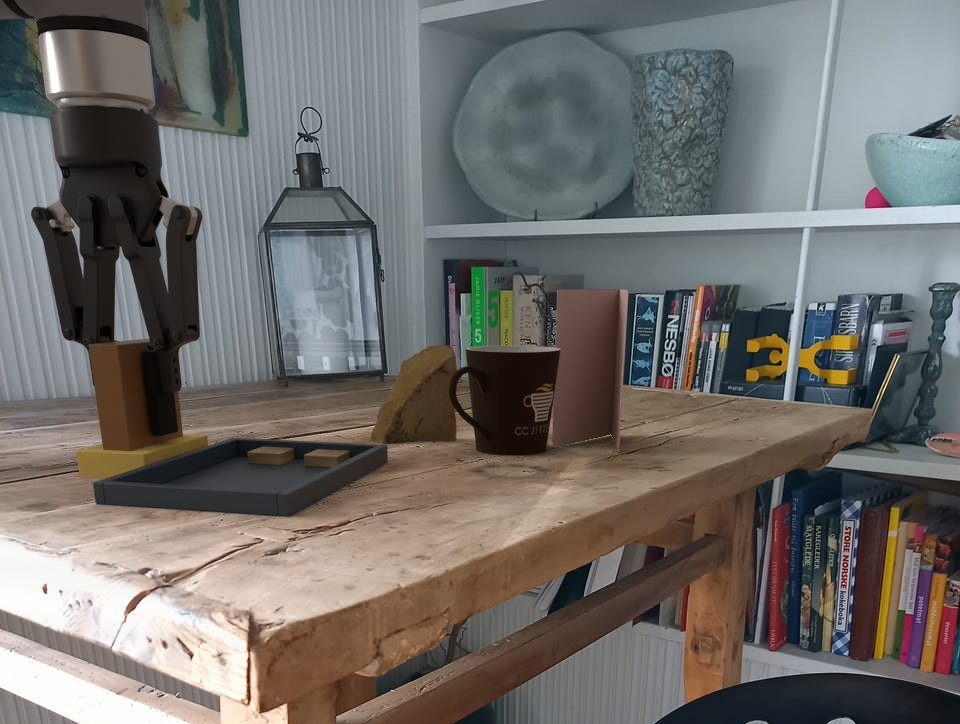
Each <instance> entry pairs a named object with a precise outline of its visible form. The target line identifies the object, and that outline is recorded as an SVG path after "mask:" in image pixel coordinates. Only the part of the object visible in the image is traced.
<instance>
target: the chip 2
mask: <svg viewBox="0 0 960 724" xmlns="http://www.w3.org/2000/svg"><path fill="white" fill-rule="evenodd" d="M348 459H350V452H349V451H344V450H324V449H317V450H315V451H312V452H310V453H308V454H305V455H304V466H305V467H323V468H332V467H334V466H336V465H338V464H340V463H342V462H344V461H346V460H348Z"/></svg>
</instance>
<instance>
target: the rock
mask: <svg viewBox="0 0 960 724" xmlns="http://www.w3.org/2000/svg"><path fill="white" fill-rule="evenodd" d="M457 366H458V365H457V356H456V353H455V351H454V349H453V348H452V346H451V345H449V344H447V345H445V346H444V345H443V346H441V344H440V345H439V344H437V345H431V346H427V347H425V348H423V349H421V350H420V351H419V352H416V353H415V354H413V355H412V356H410V357H409V358H407V359H404V360H403V361H402V362H401V363H400V366H399V371H398V374H397V378H396V379H395V381H394V383H393V385H392V387H391V390H390V392H389V395H388V397H387V398H386V399H385V400H384V401H383V402H382V404H381V406H380V409H379V410H378V413H377V418H376V422H375V424H374V427H373V429H372V431H371V434H370V439H369V442H372V443H377V444H381V445H388V444H392V443H399V442H400V443H401V442H407V441H419V442H420V441H421V442H443V443H454V442H455V443H456V441H457V417H456V410H455V408H454V406H453V404H452V402H451V400H450V396H449V387H450V381H451V378H452V376H453V374H454V373H455V372H456V371H457V370H458V367H457ZM457 389H458V385H457V386H456V390H457Z"/></svg>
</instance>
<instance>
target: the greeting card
mask: <svg viewBox="0 0 960 724" xmlns="http://www.w3.org/2000/svg"><path fill="white" fill-rule="evenodd" d="M629 293H630V290H629V289H621V288H586V289H585V288H583V289H582V288H579V289H578V288H576V289H575V288H574V289H573V288H571V289H570V288H569V289H565V288H563V289H561V288H560V289H557V290H556V316H555V341H554V342H555V344H554V348H559V349H561V351H560V358H559V365H558V372H557V379H556V386H555V393H554V400H553V407H552V436H551V437H552V438H551V439H552V440H551V447H554V448H559V447H558V446H561V447H564V446H563V445H566V446H568V445H567V444H570V445H572V444H571V443H575V442H579V443H581V442H580V441H584V442H586V441H585V440H588V441H590V440H589V439H592V440H594V439H593V438H597V439H599V438H598V437H601V438H603V437H602V436H606V435H610V434H611V435H612V436H611V435H610V436H611V438H612V437H613V438H612V440H614V441H613V443H614V442H615V443H614V446H615V445H616V446H615V448H616V450H617V453H618V454H620V444H621V443H620V442H621V429H622V428H621V427H622V412H623V411H622V410H623V395H624V394H623V393H624V377H625V360H626V359H625V358H626V341H627V328H628V327H627V326H628V310H629V309H628V308H629ZM606 437H607V436H606ZM575 444H576V443H575Z"/></svg>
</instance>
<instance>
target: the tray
mask: <svg viewBox="0 0 960 724" xmlns="http://www.w3.org/2000/svg"><path fill="white" fill-rule="evenodd" d="M260 447H283V448H294V458H295V459H294V460H291V461H289V462H287V463H284V464H282V465H265V464H249V463H248V456H247V452H249V451H252V450H255V449H257V448H260ZM317 449H324V450H344V451H349V452H350V459H348V460H346V461H344V462H342V463H340V464H338V465H336V466H334V467H332V468H323V467H305V466H304V455H305V454H308V453H310V452H312V451H315V450H317ZM388 451H389V450H388V444H379V443H377V444H376V443H357V442H356V443H353V442H333V441H314V440H313V441H312V440H310V441H309V440H307V441H306V440H291V439H290V440H289V439H269V438H248V437H230V438H227V439H224V440H221V441H217V442H214V443H212V444H208V446H205V447H202V448H199V449H196V450H193V451H190V452H186V453H183V454H180V455H177V456H174V457H171V458H168V459H165V460H162V461H158V462H155V463H152V464H149V465H146V466H143V467H140V468H137V469H134V470H130V471H127V472H124V473H121V474H118V475H115V476H112V477H109V478H101V479H100V480H96V481H93V482H92V487H93V494H94V495H93V496H94V501H95V502H94V503H95V505H97V506H98V505H99V506H114V507H128V508H129V507H130V508H142V509H143V508H144V509H160V510H173V511H174V510H176V511H190V512H202V513H203V512H205V513H206V512H207V513H219V514H220V513H222V514H236V515H237V514H238V515H251V516H265V517H281V518H291V517H292V516H295V515H296V514H297V513H300V512H301V511H303V510H305V509H307V508H309V507H311V506H312V505H314V504H316V503H318V502H319V501H321V500H324V499H325V498H327V497H329V496H330V495H332V494H334V493H336V492H338V491H340V490H341V489H344V488H345V487H347V486H349V485H350V484H353V483H354V482H356V481H358V480H359V479H361V478H363V477H366V476H367V475H369V474H370V473H372V472H374V471H376V470H378V469H380V468H382V467H383V466H385V465H387V464H388V463H389V455H388V453H389V452H388Z"/></svg>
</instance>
